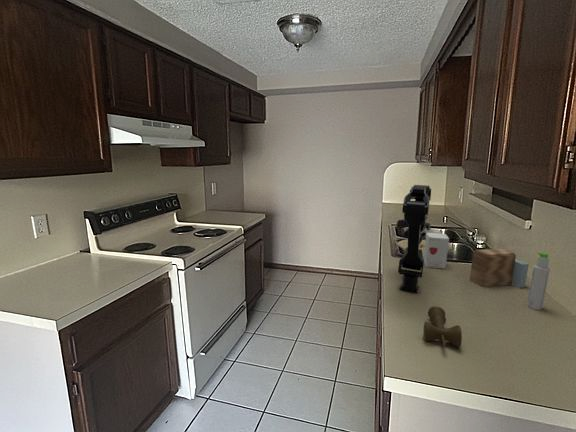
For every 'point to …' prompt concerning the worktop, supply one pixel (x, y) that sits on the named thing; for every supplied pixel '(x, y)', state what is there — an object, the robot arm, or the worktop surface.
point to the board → (519, 273)
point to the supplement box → (436, 250)
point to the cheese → (404, 245)
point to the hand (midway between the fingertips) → (415, 248)
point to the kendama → (441, 328)
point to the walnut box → (492, 267)
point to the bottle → (539, 282)
